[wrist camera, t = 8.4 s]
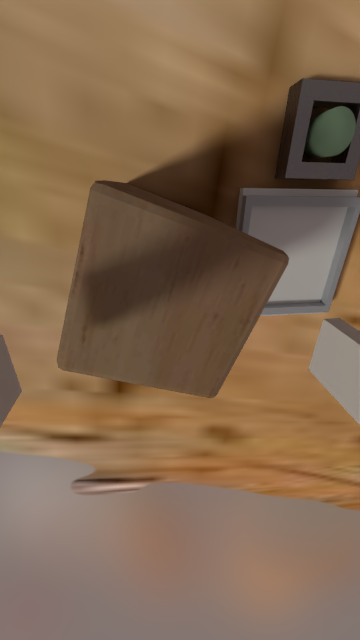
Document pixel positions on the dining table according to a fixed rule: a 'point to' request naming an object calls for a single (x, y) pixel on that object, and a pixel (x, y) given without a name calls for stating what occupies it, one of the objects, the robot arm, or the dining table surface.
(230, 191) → the dining table surface
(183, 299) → the wooden block
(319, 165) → the button housing
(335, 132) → the button
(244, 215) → the shallow gray tray
